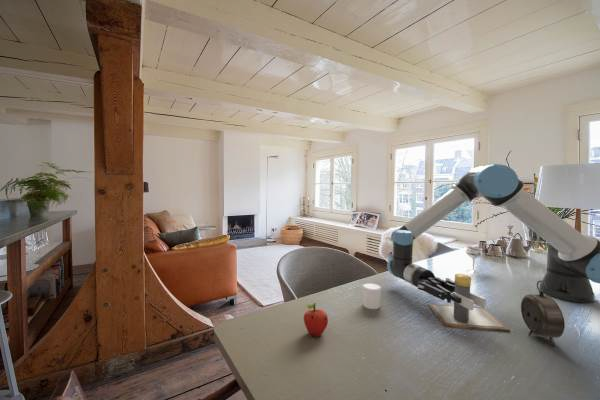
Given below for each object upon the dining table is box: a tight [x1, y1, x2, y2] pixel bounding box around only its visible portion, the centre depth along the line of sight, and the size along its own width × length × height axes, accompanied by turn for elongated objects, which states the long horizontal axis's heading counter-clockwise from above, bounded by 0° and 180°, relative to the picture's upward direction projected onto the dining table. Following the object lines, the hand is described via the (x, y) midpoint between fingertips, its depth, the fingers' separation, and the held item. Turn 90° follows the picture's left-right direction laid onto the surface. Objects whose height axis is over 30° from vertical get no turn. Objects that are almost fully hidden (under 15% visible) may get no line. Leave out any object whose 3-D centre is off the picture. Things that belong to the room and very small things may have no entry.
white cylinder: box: [361, 282, 383, 310], centre depth 92 cm, size 7×7×7 cm
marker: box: [453, 273, 472, 322], centre depth 81 cm, size 4×4×14 cm
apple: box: [303, 302, 329, 337], centre depth 74 cm, size 8×7×10 cm
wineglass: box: [465, 245, 483, 274], centre depth 129 cm, size 7×7×12 cm
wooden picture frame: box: [427, 303, 511, 332], centre depth 85 cm, size 18×14×1 cm
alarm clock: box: [520, 280, 565, 348], centre depth 73 cm, size 11×5×16 cm, turn 168°
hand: (478, 304), depth 76 cm, fingers closed on marker, 4 cm apart
